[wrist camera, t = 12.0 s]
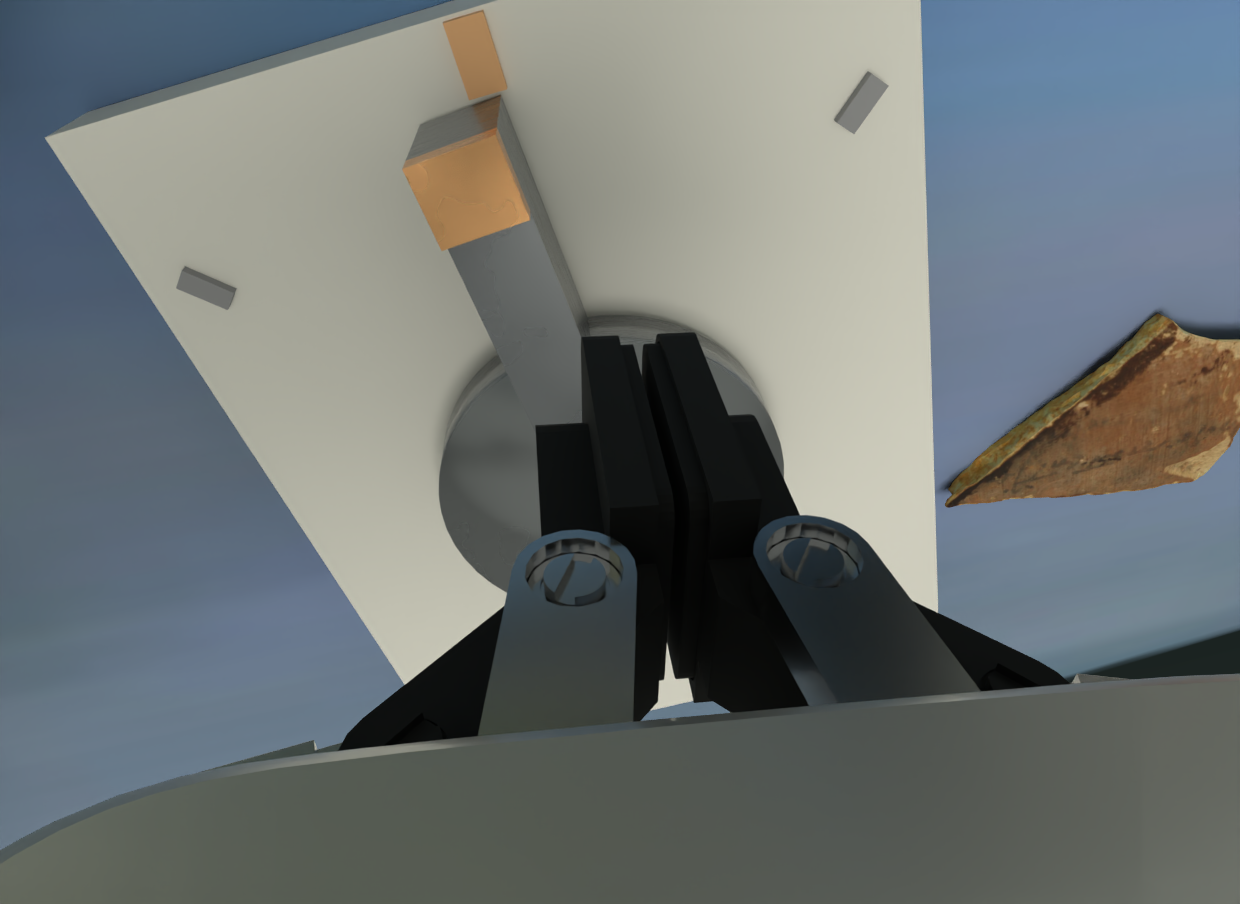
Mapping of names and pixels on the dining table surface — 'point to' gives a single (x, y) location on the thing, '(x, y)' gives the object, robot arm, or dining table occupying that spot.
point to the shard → (1120, 424)
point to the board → (587, 234)
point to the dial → (519, 332)
